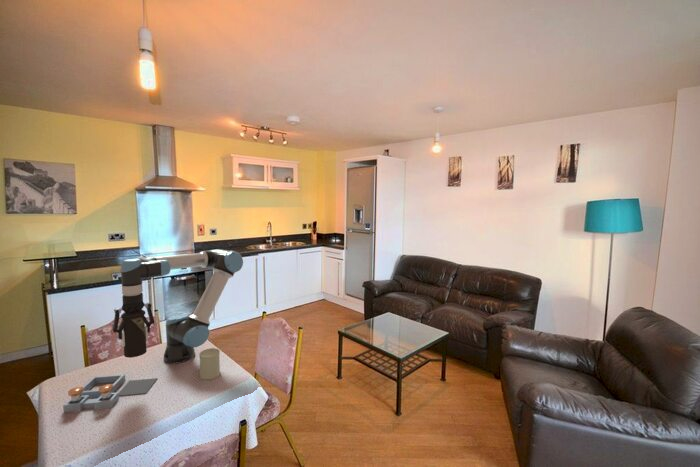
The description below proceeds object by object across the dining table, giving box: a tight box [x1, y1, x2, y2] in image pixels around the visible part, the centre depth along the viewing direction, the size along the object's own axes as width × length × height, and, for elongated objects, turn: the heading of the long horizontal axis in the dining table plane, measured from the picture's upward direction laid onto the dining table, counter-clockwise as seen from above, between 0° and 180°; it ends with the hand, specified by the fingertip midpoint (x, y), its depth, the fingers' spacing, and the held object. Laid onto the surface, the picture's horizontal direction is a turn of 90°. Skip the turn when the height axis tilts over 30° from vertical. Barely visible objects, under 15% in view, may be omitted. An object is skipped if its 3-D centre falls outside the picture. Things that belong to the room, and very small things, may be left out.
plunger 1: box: [67, 386, 84, 403], centre depth 129 cm, size 5×5×6 cm
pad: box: [118, 377, 158, 397], centre depth 144 cm, size 12×12×1 cm
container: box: [120, 309, 148, 359], centre depth 141 cm, size 9×9×20 cm
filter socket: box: [81, 373, 126, 399], centre depth 142 cm, size 13×13×3 cm
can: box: [199, 347, 221, 381], centre depth 155 cm, size 9×9×12 cm
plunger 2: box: [98, 383, 113, 401], centre depth 132 cm, size 5×5×6 cm
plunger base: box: [62, 391, 120, 413], centre depth 131 cm, size 17×6×3 cm, turn 101°
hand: (135, 342), depth 142 cm, fingers closed on container, 8 cm apart
